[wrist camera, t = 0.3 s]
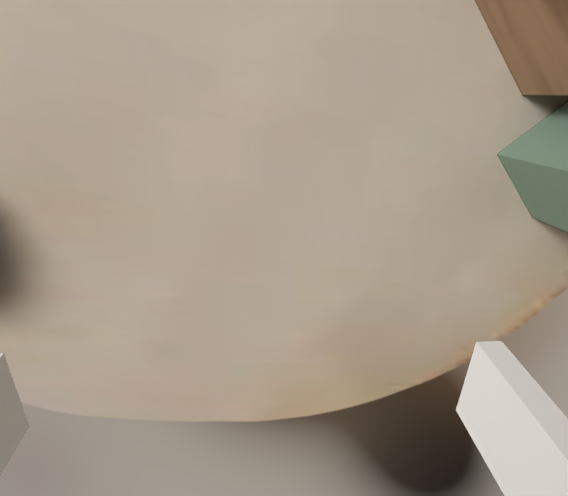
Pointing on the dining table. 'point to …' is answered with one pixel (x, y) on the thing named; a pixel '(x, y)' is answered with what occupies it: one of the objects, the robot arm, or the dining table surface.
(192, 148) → the dining table surface
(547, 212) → the post
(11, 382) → the robot arm
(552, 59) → the stand
